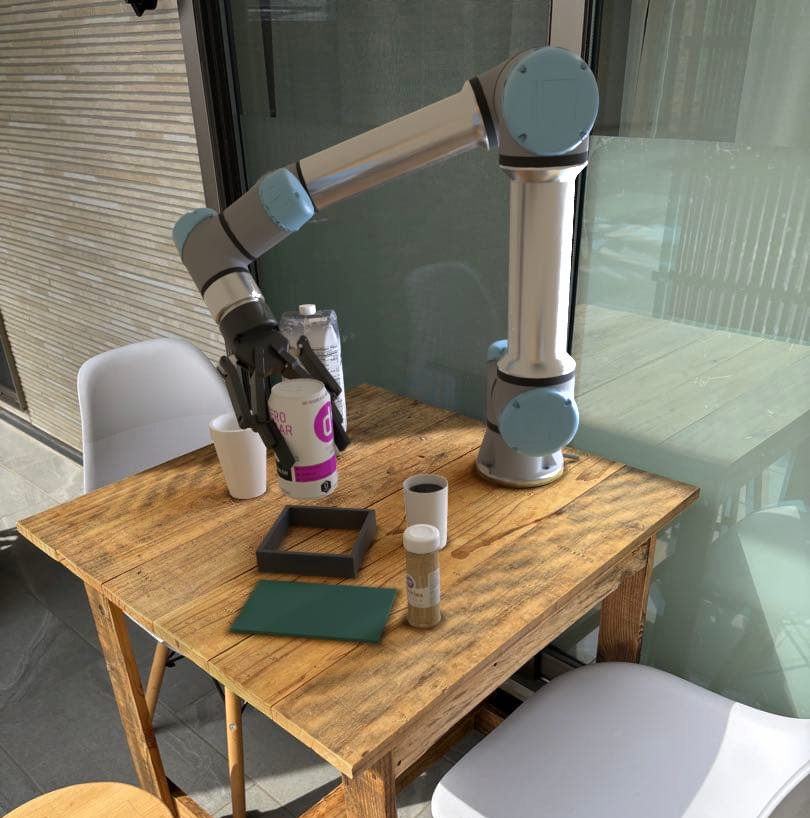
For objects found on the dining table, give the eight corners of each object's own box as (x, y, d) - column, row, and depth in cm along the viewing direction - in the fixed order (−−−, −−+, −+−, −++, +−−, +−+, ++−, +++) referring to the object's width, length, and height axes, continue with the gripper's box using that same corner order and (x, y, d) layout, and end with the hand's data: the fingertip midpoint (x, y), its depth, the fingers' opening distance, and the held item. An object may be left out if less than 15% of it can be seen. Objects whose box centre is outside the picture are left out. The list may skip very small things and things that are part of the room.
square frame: (376, 528, 134) (375, 509, 132) (355, 578, 122) (353, 557, 120) (288, 523, 137) (286, 504, 135) (258, 572, 124) (255, 551, 123)
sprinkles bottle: (400, 621, 112) (395, 533, 105) (422, 606, 115) (418, 519, 108) (427, 634, 109) (423, 544, 103) (448, 617, 112) (446, 529, 106)
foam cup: (280, 478, 151) (271, 410, 145) (268, 503, 143) (258, 431, 137) (229, 478, 152) (217, 410, 146) (214, 502, 144) (201, 432, 138)
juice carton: (346, 458, 157) (333, 313, 144) (290, 460, 158) (272, 316, 144) (349, 439, 165) (337, 299, 152) (295, 441, 166) (279, 302, 152)
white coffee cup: (418, 557, 126) (416, 498, 121) (398, 538, 131) (395, 480, 126) (457, 545, 128) (456, 486, 123) (436, 527, 134) (434, 469, 129)
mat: (397, 592, 118) (396, 588, 118) (378, 644, 108) (378, 640, 108) (260, 582, 122) (260, 579, 122) (230, 632, 112) (229, 628, 111)
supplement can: (347, 479, 121) (338, 379, 114) (323, 506, 115) (312, 401, 107) (296, 473, 124) (284, 374, 116) (269, 499, 117) (255, 396, 110)
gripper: (298, 315, 126) (370, 446, 123) (167, 347, 115) (242, 492, 112) (314, 284, 119) (390, 422, 116) (177, 315, 108) (257, 468, 105)
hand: (318, 456), depth 114 cm, fingers closed on supplement can, 8 cm apart
